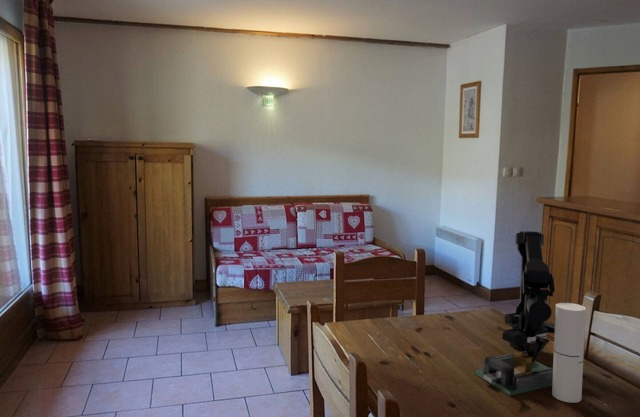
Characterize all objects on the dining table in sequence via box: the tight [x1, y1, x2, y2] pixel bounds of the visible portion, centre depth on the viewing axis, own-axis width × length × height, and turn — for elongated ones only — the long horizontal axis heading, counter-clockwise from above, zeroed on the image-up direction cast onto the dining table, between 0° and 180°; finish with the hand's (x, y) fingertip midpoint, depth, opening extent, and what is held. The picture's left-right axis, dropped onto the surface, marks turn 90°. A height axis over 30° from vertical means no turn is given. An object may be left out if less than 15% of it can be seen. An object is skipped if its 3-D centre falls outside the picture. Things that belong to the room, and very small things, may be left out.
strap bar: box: [484, 351, 532, 383], centre depth 141 cm, size 14×4×5 cm, turn 113°
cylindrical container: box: [551, 302, 587, 404], centre depth 131 cm, size 7×7×25 cm
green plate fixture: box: [474, 351, 553, 396], centre depth 143 cm, size 22×14×6 cm, turn 113°
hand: (531, 361), depth 144 cm, fingers closed
